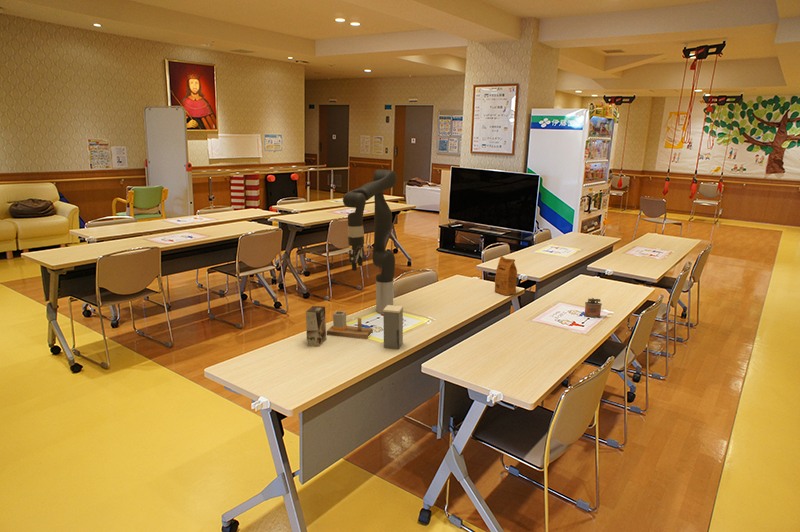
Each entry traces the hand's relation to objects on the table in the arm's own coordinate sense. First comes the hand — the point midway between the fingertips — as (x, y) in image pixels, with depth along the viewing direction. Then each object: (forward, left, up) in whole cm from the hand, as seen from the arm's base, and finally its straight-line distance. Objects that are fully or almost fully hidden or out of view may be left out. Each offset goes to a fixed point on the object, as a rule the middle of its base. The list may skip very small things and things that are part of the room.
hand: (357, 268), depth 249 cm
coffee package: (-79, +66, -31) cm, 107 cm away
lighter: (-46, +113, -31) cm, 126 cm away
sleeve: (+8, -7, -29) cm, 30 cm away
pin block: (+8, -2, -31) cm, 32 cm away
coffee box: (+22, -13, -31) cm, 40 cm away
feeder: (+17, +22, -31) cm, 42 cm away
